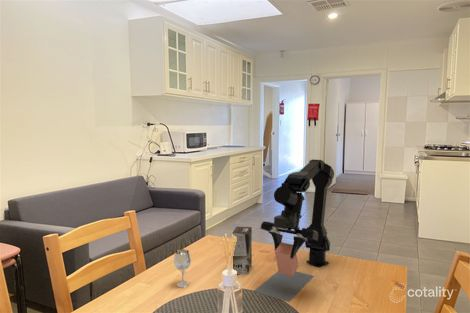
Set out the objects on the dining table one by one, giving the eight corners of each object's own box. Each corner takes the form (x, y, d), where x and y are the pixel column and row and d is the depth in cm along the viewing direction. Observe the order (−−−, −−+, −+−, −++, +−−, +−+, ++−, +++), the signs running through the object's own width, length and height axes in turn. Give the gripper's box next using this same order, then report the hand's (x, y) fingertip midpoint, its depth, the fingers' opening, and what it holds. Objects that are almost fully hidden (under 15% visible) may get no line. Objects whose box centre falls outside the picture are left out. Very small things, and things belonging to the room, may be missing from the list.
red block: (285, 263, 118) (281, 242, 114) (298, 266, 115) (294, 245, 112) (278, 273, 114) (274, 251, 111) (292, 276, 111) (288, 254, 108)
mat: (282, 268, 132) (282, 267, 132) (314, 277, 125) (314, 275, 125) (253, 292, 114) (253, 291, 114) (288, 303, 107) (288, 301, 107)
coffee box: (248, 276, 127) (248, 233, 125) (231, 274, 128) (231, 232, 126) (252, 266, 135) (252, 226, 134) (236, 264, 137) (236, 225, 135)
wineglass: (193, 282, 122) (193, 249, 121) (186, 289, 116) (185, 255, 115) (179, 279, 124) (178, 248, 123) (171, 287, 118) (170, 253, 117)
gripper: (257, 201, 114) (248, 248, 110) (310, 208, 103) (302, 260, 99) (271, 208, 123) (263, 252, 119) (322, 215, 112) (314, 263, 108)
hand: (284, 256), depth 111 cm, fingers closed on red block, 5 cm apart
